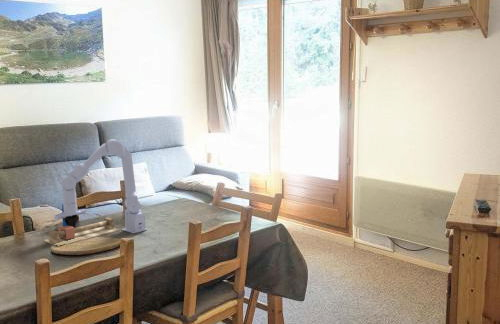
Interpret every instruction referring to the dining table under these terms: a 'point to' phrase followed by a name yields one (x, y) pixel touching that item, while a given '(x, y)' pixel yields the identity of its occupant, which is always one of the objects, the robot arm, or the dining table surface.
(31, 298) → the dining table surface
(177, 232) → the dining table surface
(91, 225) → the rod rig
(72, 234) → the salmon red block
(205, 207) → the dining table surface
